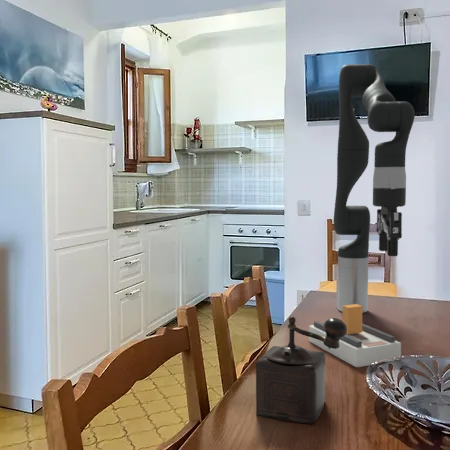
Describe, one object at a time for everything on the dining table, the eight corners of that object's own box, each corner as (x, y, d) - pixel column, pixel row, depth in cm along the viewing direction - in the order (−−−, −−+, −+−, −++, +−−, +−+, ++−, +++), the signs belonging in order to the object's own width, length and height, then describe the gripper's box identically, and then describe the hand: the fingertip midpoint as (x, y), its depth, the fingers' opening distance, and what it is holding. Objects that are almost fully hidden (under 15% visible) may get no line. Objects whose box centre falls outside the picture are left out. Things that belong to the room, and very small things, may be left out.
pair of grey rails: (314, 326, 125) (314, 321, 125) (347, 322, 129) (347, 317, 129) (357, 347, 108) (357, 342, 108) (394, 342, 112) (394, 336, 112)
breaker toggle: (342, 331, 119) (342, 305, 118) (356, 329, 120) (356, 304, 120) (348, 334, 117) (348, 307, 116) (362, 332, 118) (362, 306, 117)
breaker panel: (308, 341, 126) (308, 325, 126) (348, 335, 130) (348, 320, 130) (356, 367, 107) (356, 349, 107) (400, 360, 112) (401, 342, 111)
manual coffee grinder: (252, 416, 85) (252, 314, 83) (272, 392, 95) (271, 300, 93) (344, 433, 79) (345, 323, 77) (354, 405, 89) (355, 307, 87)
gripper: (367, 186, 126) (366, 249, 127) (380, 186, 111) (378, 257, 113) (397, 186, 125) (395, 249, 126) (414, 186, 111) (412, 258, 112)
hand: (387, 253), depth 120 cm, fingers open, 8 cm apart
